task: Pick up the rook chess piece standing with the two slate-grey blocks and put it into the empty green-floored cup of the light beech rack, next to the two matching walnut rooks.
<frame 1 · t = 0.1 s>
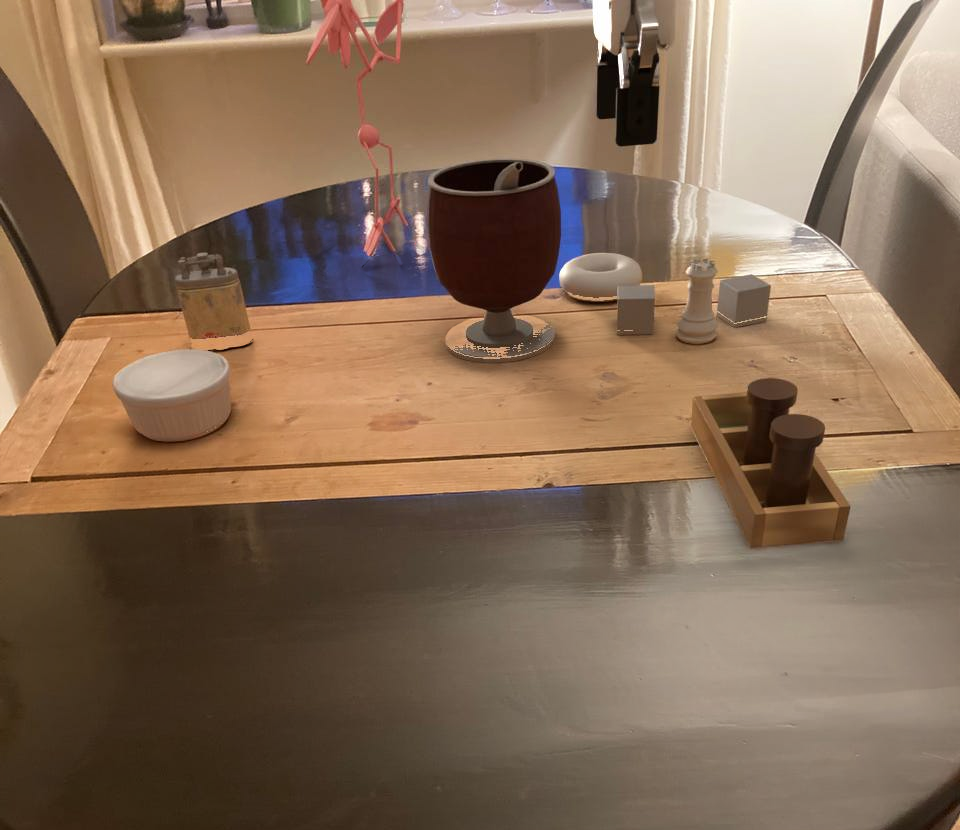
hand: (624, 130, 78), 24 cm above the table, tool pointing down, fingers open, 9 cm apart
lighter: (223, 347, 110), on the table
donut: (600, 292, 116), on the table
grey block 1: (741, 318, 107), on the table
rack: (758, 484, 80), on the table
ramekin: (185, 423, 96), on the table
rook chess piece: (696, 338, 104), on the table
mate gourd: (502, 344, 106), on the table
figurine: (363, 255, 132), on the table
walnut rook 1: (759, 477, 79), point 1 cm above the table, touching rack
grey block 2: (634, 327, 107), on the table
walnut rook 2: (782, 518, 75), point 1 cm above the table, touching rack
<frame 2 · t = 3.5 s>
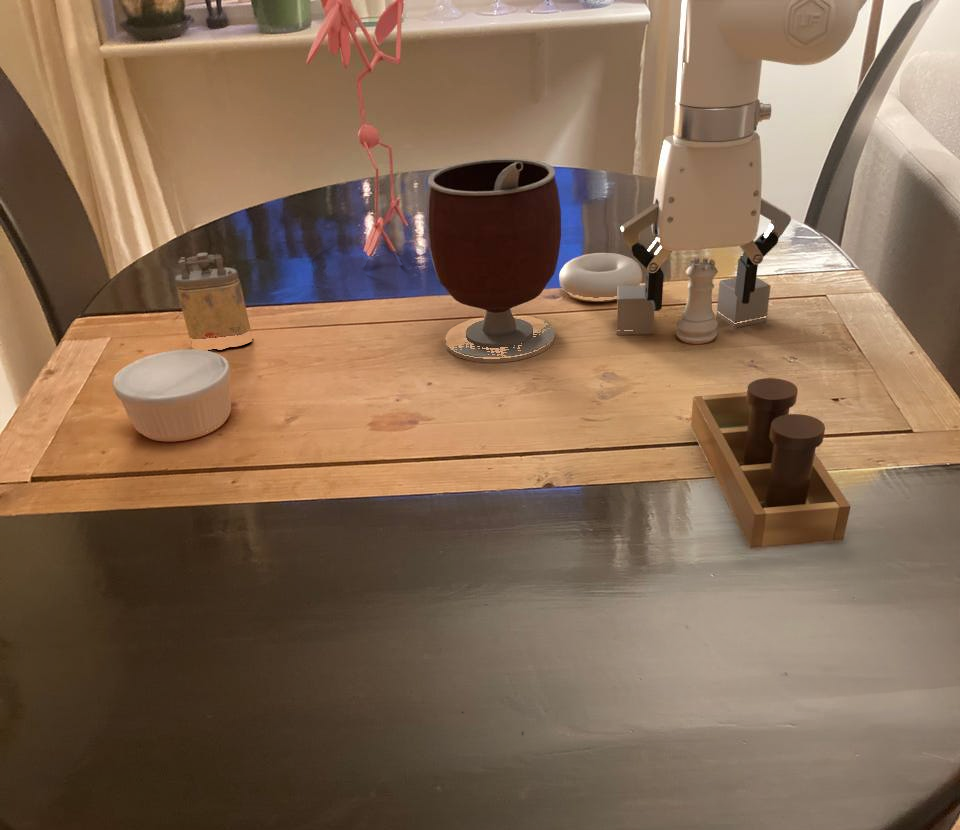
hand: (698, 302, 101), 4 cm above the table, tool pointing down, fingers open, 8 cm apart
grey block 1: (741, 318, 107), on the table, touching gripper
everything else where it was.
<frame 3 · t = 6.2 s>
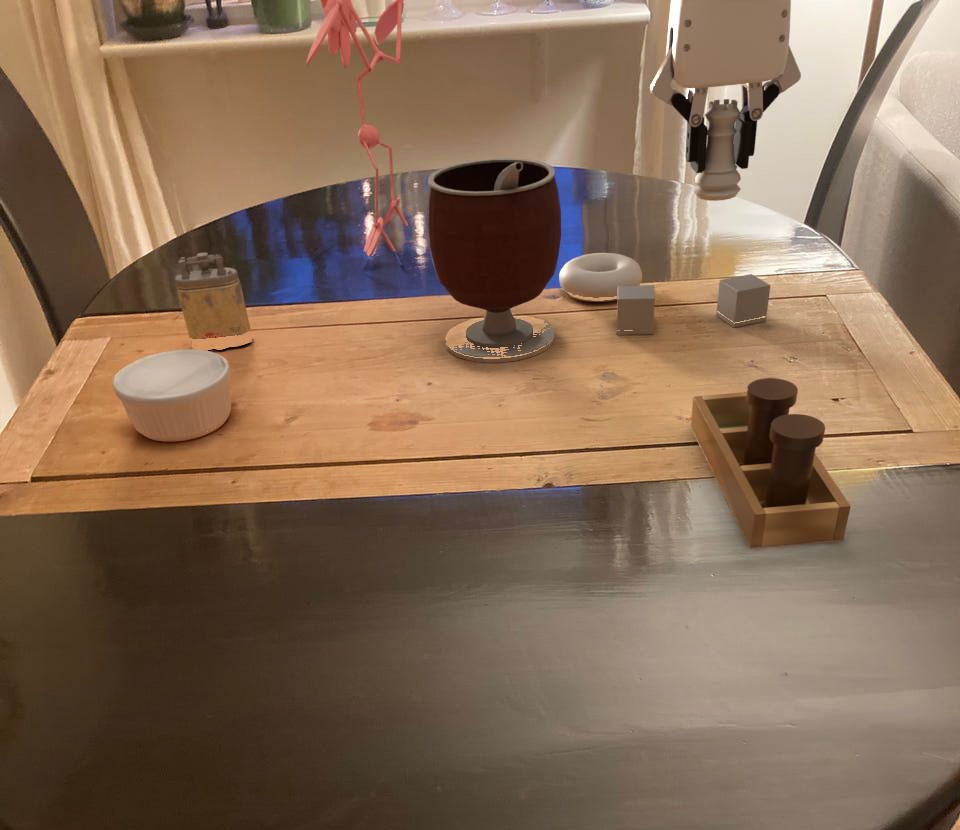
hand: (718, 165, 91), 18 cm above the table, tool pointing down, fingers closed on rook chess piece, 3 cm apart
grey block 1: (740, 318, 107), on the table
rook chess piece: (716, 197, 93), point 15 cm above the table, touching gripper
everything else where it was.
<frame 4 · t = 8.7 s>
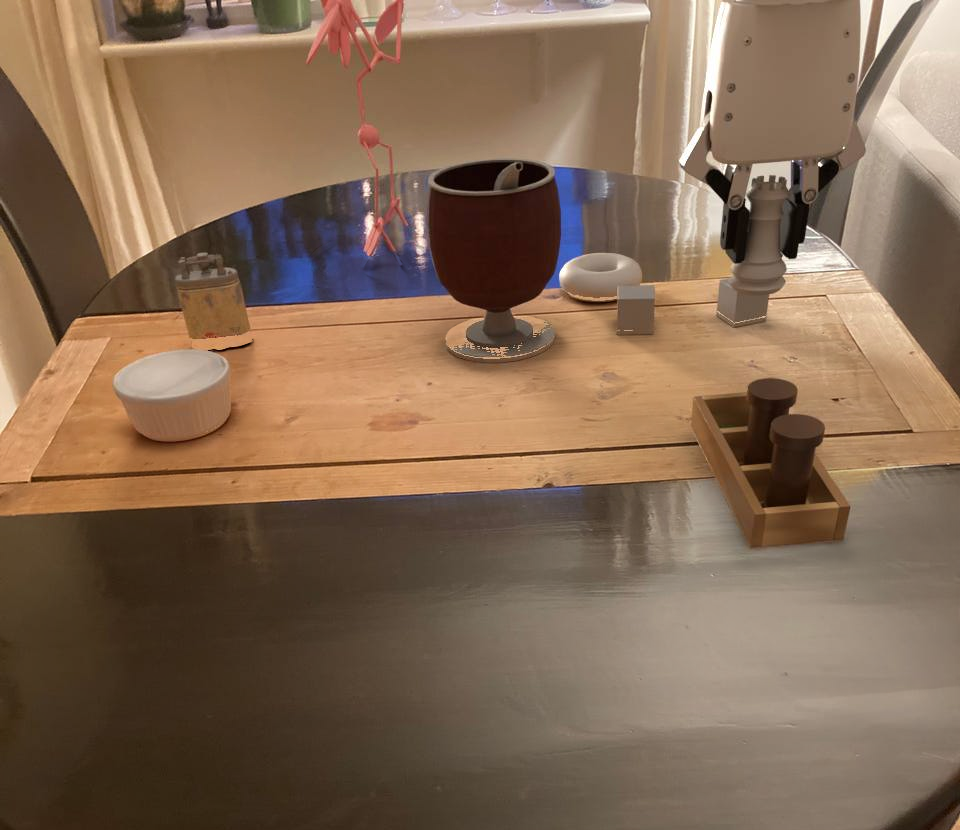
hand: (760, 253, 75), 17 cm above the table, tool pointing down, fingers closed on rook chess piece, 3 cm apart
rook chess piece: (755, 289, 76), point 14 cm above the table, touching gripper
everything else where it was.
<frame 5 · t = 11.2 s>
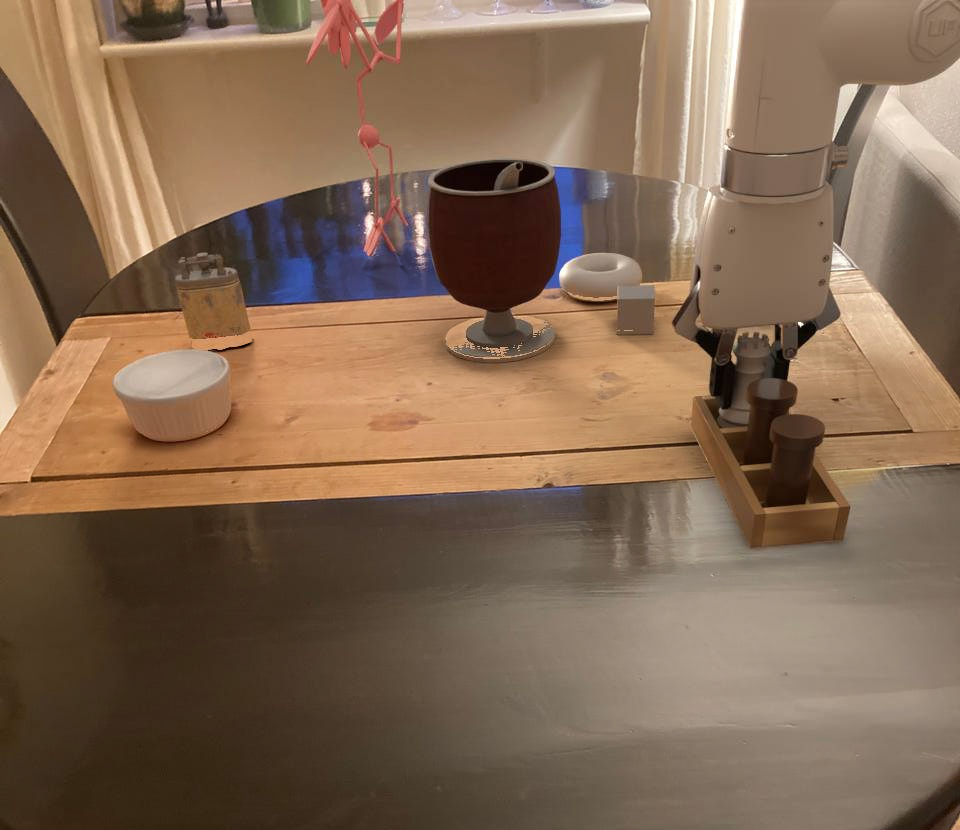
hand: (745, 398, 82), 5 cm above the table, tool pointing down, fingers closed on rook chess piece, 3 cm apart
rook chess piece: (742, 428, 84), point 2 cm above the table, touching gripper
everything else where it was.
when the fingers open (3 cm above the table, at t = 13.4 s): rook chess piece stays where it is, resting on rack.
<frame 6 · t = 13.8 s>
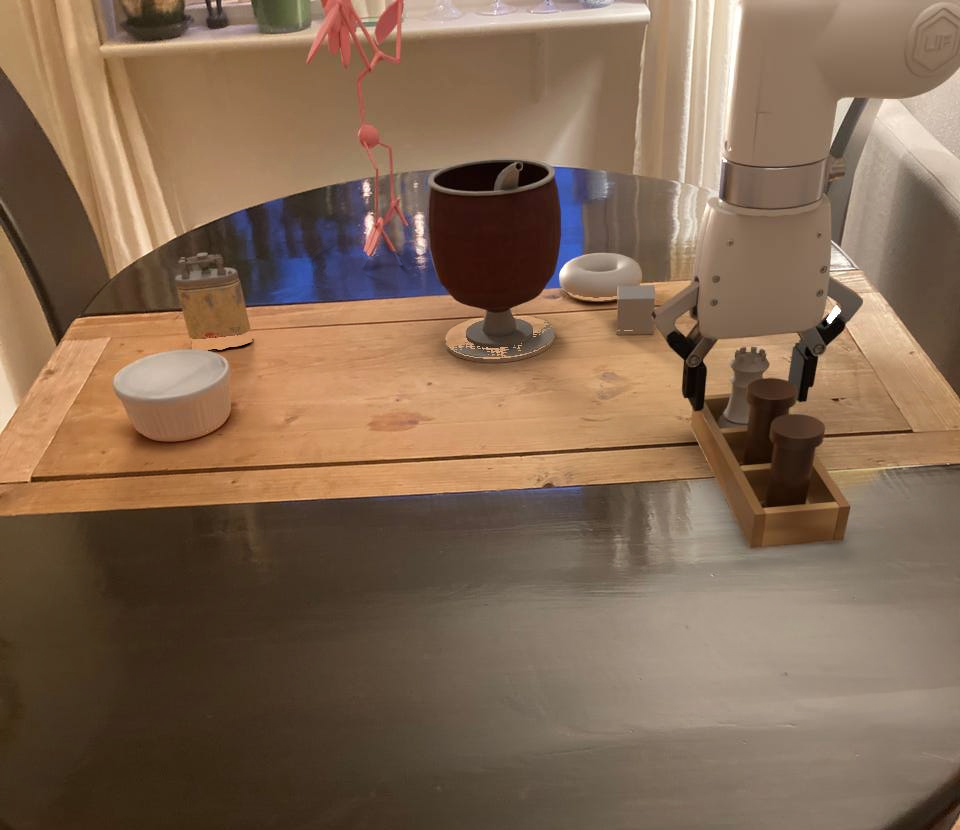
hand: (745, 398, 82), 5 cm above the table, tool pointing down, fingers open, 8 cm apart
rook chess piece: (739, 441, 84), point 1 cm above the table, touching rack
everything else where it was.
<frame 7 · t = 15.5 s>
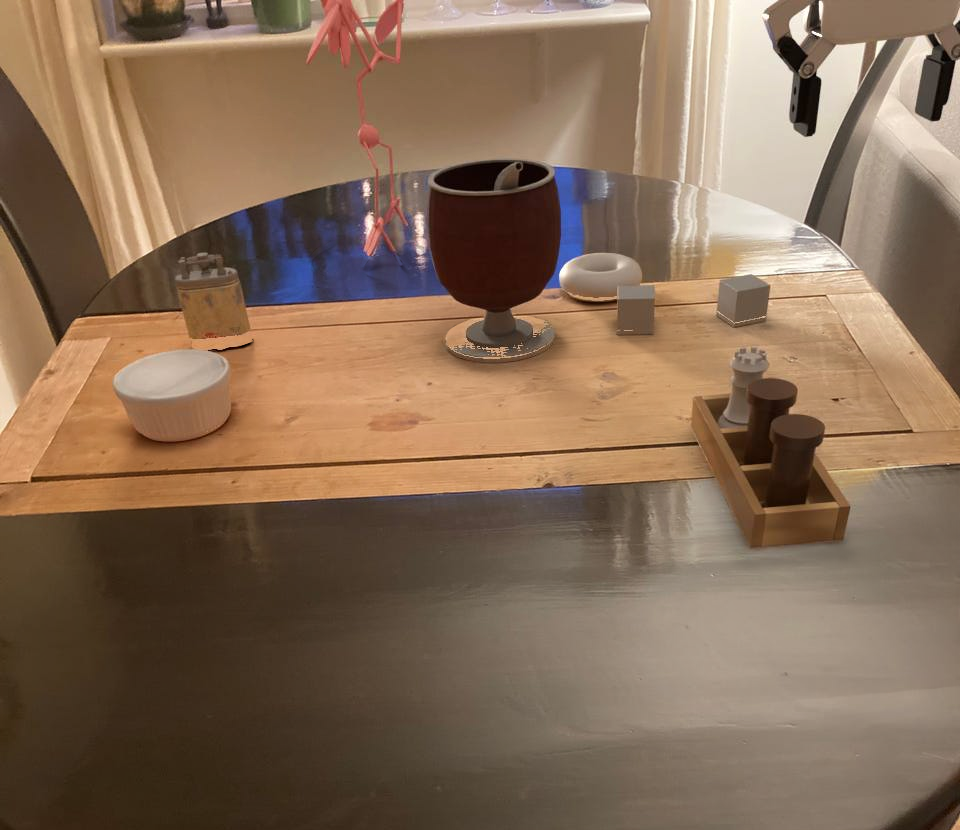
hand: (865, 125, 74), 24 cm above the table, tool pointing down, fingers open, 9 cm apart
nothing on the table moved.
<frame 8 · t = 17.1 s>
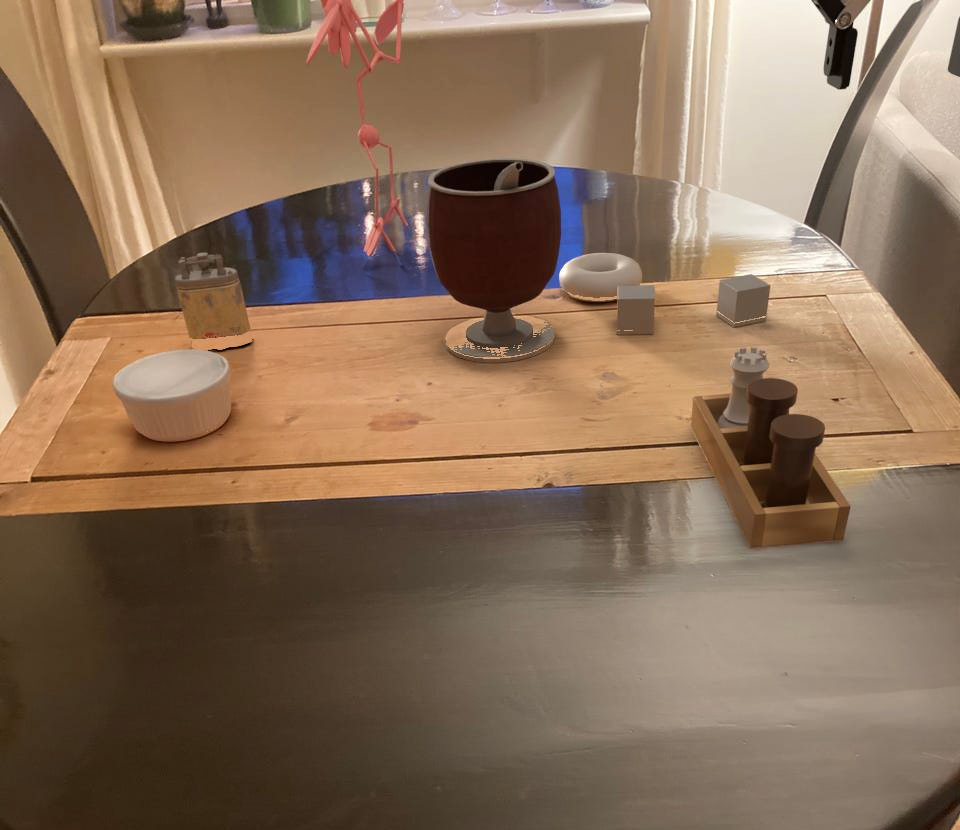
hand: (898, 80, 75), 26 cm above the table, tool pointing down, fingers open, 9 cm apart
nothing on the table moved.
at the end: rook chess piece 0.0 cm from the target spot in the rack, point 0.6 cm above the rack's base; rook chess piece tilted 0°; the gripper is holding nothing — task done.
